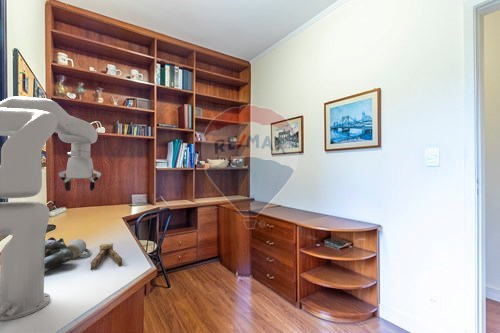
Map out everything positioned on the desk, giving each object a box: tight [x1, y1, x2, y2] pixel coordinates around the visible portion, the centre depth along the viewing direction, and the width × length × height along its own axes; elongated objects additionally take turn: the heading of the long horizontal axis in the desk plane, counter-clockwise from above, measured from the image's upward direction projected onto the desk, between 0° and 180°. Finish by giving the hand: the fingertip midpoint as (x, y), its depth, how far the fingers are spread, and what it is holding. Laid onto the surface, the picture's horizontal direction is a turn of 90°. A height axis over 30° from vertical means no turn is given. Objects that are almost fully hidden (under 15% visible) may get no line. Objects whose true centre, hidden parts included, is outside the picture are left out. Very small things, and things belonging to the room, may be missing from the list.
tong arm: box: [108, 248, 123, 267], centre depth 106 cm, size 16×1×3 cm, turn 44°
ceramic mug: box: [65, 238, 92, 260], centre depth 110 cm, size 11×8×8 cm
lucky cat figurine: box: [44, 236, 74, 273], centre depth 97 cm, size 15×12×14 cm
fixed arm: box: [90, 249, 107, 271], centre depth 105 cm, size 18×2×3 cm, turn 19°
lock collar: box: [98, 243, 114, 253], centre depth 113 cm, size 2×5×5 cm, turn 109°
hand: (80, 190), depth 113 cm, fingers open, 9 cm apart
